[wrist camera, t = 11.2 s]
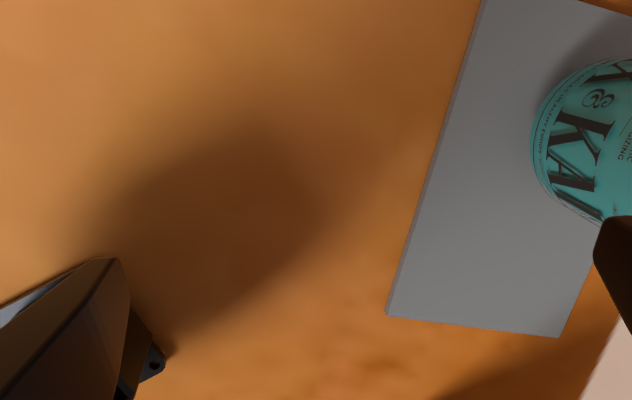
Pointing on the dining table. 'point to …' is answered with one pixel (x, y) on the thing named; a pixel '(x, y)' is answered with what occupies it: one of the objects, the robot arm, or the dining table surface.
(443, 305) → the rubber mat
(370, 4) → the dining table surface
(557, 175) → the beverage bottle
